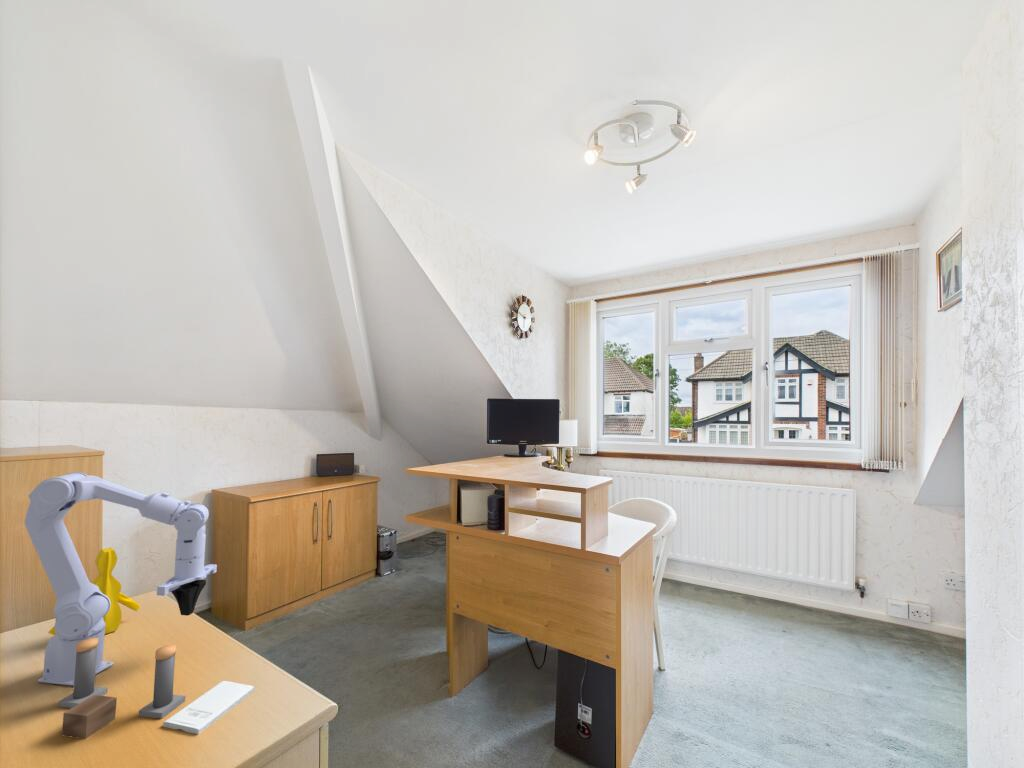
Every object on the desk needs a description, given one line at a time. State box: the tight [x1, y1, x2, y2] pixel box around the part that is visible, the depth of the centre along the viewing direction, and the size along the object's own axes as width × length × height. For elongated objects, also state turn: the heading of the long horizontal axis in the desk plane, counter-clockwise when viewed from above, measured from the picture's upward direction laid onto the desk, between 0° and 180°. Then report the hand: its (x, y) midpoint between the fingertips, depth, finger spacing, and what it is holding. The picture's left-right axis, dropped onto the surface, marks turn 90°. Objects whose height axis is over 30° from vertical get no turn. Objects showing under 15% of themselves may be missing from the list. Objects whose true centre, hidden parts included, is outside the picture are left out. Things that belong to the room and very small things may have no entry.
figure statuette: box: [47, 547, 141, 636], centre depth 112 cm, size 18×8×22 cm, turn 147°
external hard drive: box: [162, 680, 255, 735], centre depth 84 cm, size 2×8×12 cm
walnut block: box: [61, 695, 118, 740], centre depth 79 cm, size 5×5×4 cm
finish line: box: [57, 638, 186, 719], centre depth 86 cm, size 23×5×11 cm, turn 83°
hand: (186, 614), depth 103 cm, fingers closed
